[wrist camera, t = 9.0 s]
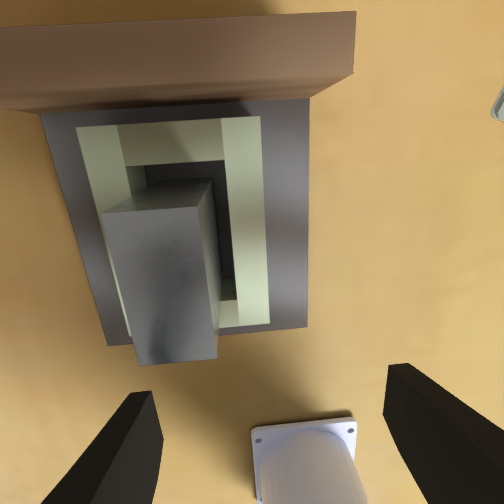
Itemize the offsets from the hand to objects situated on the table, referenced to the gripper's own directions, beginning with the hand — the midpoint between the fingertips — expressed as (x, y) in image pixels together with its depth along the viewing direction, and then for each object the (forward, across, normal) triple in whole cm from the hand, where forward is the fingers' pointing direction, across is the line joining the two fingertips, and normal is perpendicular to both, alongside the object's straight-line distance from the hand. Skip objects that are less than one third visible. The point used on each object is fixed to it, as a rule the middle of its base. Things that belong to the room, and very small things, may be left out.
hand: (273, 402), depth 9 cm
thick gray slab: (+8, +3, -4) cm, 9 cm away
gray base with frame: (+9, +3, -4) cm, 10 cm away
